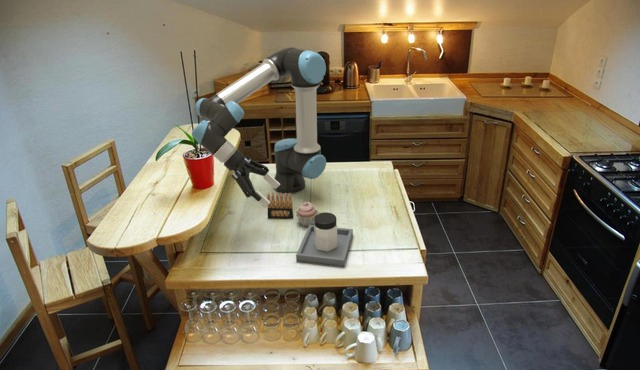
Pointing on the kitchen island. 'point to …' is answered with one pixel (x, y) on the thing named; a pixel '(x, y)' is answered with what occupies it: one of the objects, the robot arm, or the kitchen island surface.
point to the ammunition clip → (280, 207)
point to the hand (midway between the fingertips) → (273, 195)
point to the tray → (331, 258)
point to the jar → (325, 231)
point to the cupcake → (306, 214)
